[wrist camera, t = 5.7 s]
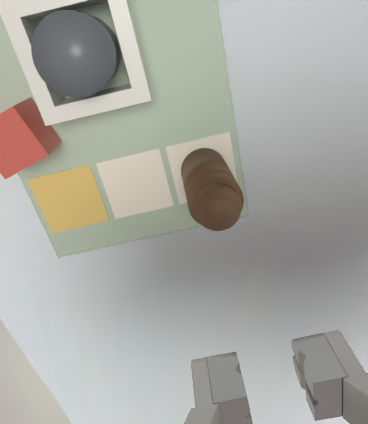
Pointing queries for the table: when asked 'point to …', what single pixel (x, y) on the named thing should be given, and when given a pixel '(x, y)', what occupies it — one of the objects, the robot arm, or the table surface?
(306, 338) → the robot arm
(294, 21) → the table surface
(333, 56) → the table surface
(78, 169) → the board
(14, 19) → the housing
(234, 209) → the pawn
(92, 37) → the dome
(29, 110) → the red cube
